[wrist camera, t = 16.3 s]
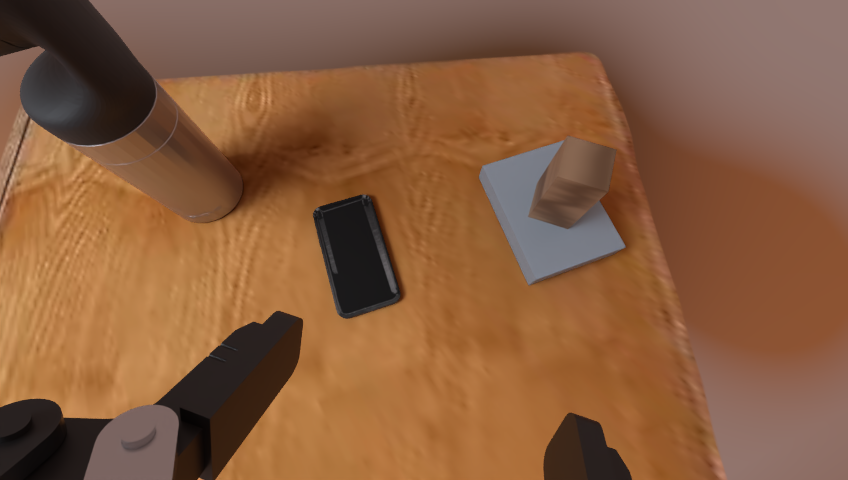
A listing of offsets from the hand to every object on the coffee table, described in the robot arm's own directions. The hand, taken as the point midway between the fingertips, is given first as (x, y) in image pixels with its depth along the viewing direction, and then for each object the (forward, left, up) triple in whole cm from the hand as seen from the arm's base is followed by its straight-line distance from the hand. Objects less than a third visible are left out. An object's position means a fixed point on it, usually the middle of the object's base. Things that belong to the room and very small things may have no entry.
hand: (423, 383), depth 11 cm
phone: (-16, -3, -33) cm, 37 cm away
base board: (-13, +22, -33) cm, 41 cm away
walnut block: (-13, +22, -30) cm, 39 cm away
